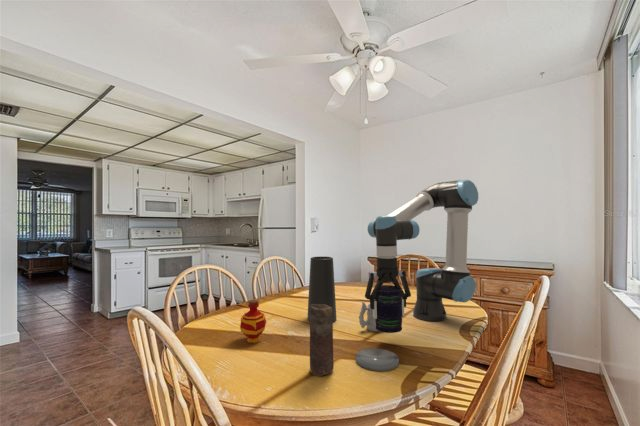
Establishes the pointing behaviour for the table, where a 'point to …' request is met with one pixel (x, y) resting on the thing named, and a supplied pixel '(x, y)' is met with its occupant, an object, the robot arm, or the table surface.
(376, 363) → the disc
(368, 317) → the mug
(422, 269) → the robot arm
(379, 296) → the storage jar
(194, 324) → the table surface
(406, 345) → the table surface
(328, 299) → the vase
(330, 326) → the candle
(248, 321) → the potion bottle
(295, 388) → the table surface
